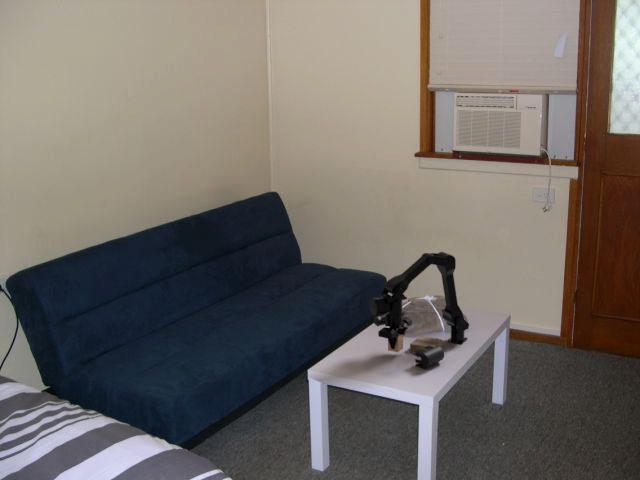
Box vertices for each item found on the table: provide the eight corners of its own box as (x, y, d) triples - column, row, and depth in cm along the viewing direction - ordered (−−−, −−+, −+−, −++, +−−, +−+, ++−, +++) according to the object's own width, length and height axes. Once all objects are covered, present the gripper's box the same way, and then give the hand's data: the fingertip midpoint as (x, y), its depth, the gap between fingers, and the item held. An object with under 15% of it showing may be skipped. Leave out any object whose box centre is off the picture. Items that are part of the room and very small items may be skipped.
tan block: (420, 342, 323) (420, 335, 322) (442, 346, 318) (442, 339, 317) (410, 350, 315) (410, 343, 314) (432, 355, 310) (432, 348, 309)
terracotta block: (393, 346, 313) (393, 332, 312) (403, 348, 311) (402, 334, 309) (388, 350, 309) (387, 336, 308) (398, 352, 307) (397, 338, 306)
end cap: (428, 371, 295) (428, 355, 293) (414, 366, 300) (414, 350, 298) (444, 363, 301) (444, 347, 300) (430, 358, 306) (430, 343, 305)
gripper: (388, 300, 318) (388, 335, 322) (366, 314, 303) (367, 351, 307) (412, 304, 312) (412, 340, 316) (391, 319, 297) (391, 356, 301)
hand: (395, 346), depth 310 cm, fingers closed on terracotta block, 4 cm apart
